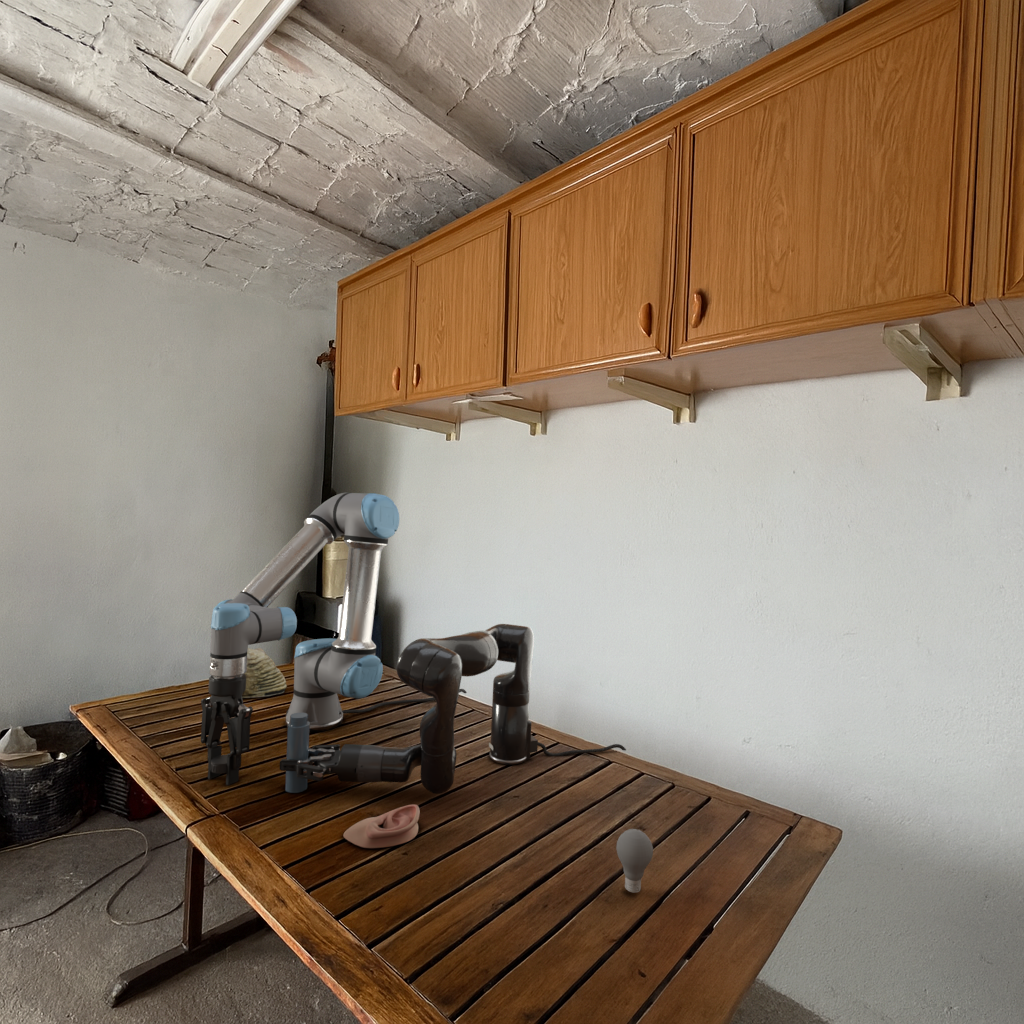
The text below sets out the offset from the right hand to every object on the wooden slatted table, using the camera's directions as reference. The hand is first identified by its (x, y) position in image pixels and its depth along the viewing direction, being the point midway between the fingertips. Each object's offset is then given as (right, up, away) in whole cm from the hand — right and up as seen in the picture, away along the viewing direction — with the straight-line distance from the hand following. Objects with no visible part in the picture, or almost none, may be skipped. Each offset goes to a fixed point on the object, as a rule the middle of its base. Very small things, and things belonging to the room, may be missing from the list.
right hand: (285, 759), depth 137 cm
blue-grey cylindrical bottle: (+2, -6, 0) cm, 7 cm away
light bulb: (+69, -10, -31) cm, 77 cm away
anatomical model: (+24, -8, -17) cm, 31 cm away
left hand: (-15, -5, +3) cm, 16 cm away
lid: (-14, -1, +2) cm, 15 cm away
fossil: (-31, -4, +61) cm, 69 cm away
